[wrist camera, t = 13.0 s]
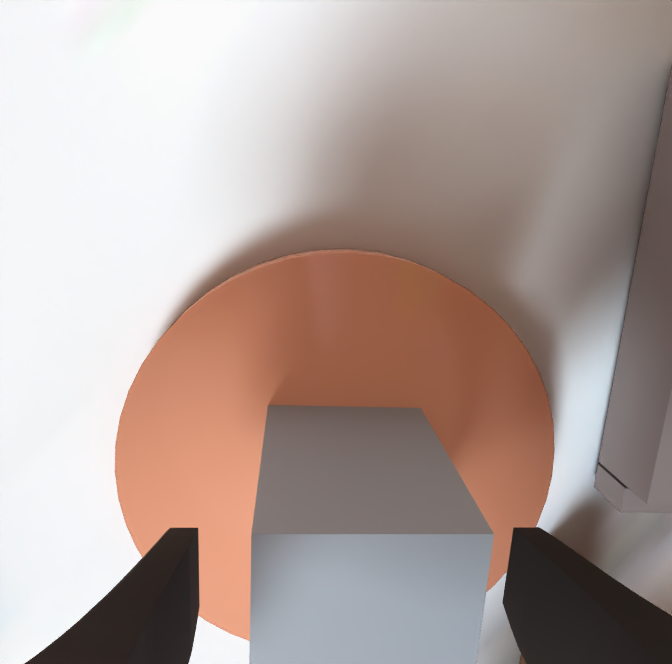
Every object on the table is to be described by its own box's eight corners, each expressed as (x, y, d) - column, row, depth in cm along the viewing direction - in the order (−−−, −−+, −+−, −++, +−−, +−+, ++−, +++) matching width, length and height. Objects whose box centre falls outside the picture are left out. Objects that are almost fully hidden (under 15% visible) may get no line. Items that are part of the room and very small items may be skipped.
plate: (510, 622, 19) (523, 649, 18) (136, 628, 18) (126, 658, 17) (565, 257, 16) (586, 262, 15) (116, 239, 15) (101, 243, 14)
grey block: (408, 540, 17) (467, 723, 11) (265, 540, 16) (248, 730, 11) (420, 407, 16) (494, 534, 10) (267, 404, 15) (251, 534, 10)
